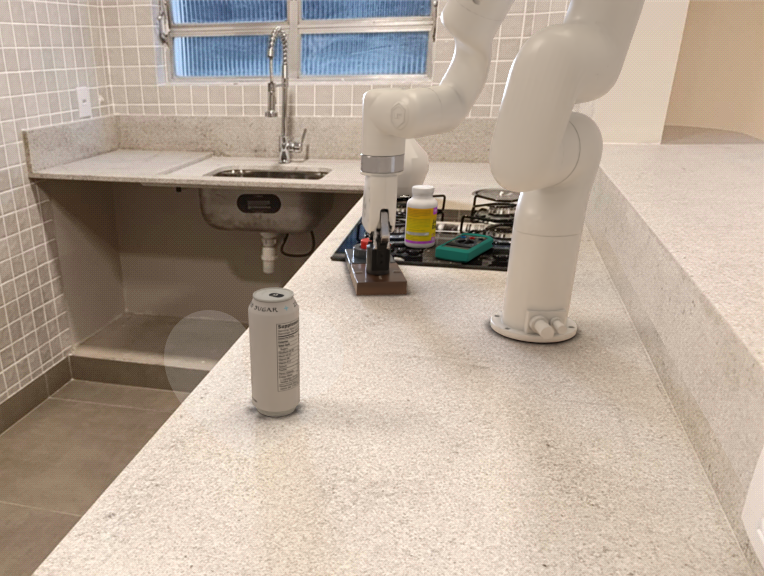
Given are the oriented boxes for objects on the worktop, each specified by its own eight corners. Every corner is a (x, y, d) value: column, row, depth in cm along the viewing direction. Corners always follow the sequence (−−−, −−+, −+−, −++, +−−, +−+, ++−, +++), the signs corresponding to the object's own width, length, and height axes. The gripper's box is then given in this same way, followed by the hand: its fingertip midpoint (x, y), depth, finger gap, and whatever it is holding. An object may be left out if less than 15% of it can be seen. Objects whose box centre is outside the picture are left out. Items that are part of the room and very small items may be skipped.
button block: (395, 272, 138) (396, 253, 136) (349, 274, 138) (349, 254, 136) (387, 257, 148) (388, 239, 146) (344, 259, 148) (345, 240, 146)
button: (379, 250, 140) (380, 241, 139) (361, 251, 140) (361, 242, 139) (377, 245, 143) (377, 237, 142) (359, 246, 143) (360, 238, 142)
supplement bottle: (434, 249, 152) (439, 189, 147) (404, 249, 153) (407, 189, 148) (434, 241, 158) (438, 184, 152) (404, 241, 159) (407, 184, 154)
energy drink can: (272, 392, 92) (268, 282, 85) (309, 404, 88) (309, 291, 82) (242, 410, 87) (236, 296, 81) (280, 423, 84) (277, 305, 77)
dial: (367, 275, 128) (368, 247, 126) (364, 268, 132) (365, 241, 130) (391, 275, 128) (392, 246, 126) (388, 268, 132) (389, 240, 130)
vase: (360, 202, 200) (364, 90, 188) (366, 190, 216) (370, 86, 204) (426, 203, 196) (434, 88, 183) (427, 191, 212) (434, 85, 199)
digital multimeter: (494, 248, 152) (495, 234, 150) (467, 264, 141) (468, 250, 140) (461, 244, 156) (463, 231, 154) (433, 259, 145) (434, 245, 144)
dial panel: (406, 294, 125) (407, 280, 124) (356, 295, 126) (356, 281, 125) (396, 275, 136) (397, 261, 135) (350, 276, 137) (350, 263, 136)
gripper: (355, 158, 129) (352, 254, 137) (366, 173, 114) (363, 280, 122) (396, 157, 129) (390, 253, 137) (412, 171, 114) (406, 279, 122)
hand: (377, 265), depth 129 cm, fingers open, 4 cm apart
